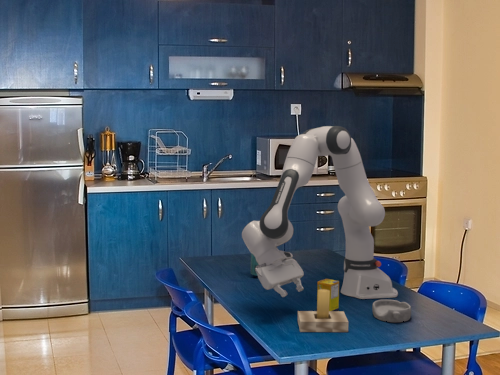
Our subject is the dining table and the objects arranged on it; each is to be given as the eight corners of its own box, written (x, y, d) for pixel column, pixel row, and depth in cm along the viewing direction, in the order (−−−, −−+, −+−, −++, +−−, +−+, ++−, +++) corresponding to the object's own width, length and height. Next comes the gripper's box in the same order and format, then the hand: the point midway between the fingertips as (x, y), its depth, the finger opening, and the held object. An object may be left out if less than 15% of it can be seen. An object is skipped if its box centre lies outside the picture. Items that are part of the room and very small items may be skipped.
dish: (401, 326, 246) (402, 312, 245) (365, 319, 254) (365, 305, 253) (418, 316, 258) (418, 302, 257) (382, 309, 266) (383, 296, 265)
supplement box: (325, 306, 268) (325, 278, 266) (339, 310, 264) (339, 281, 263) (316, 310, 263) (316, 281, 262) (330, 313, 259) (330, 284, 258)
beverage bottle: (252, 279, 308) (252, 233, 306) (248, 275, 314) (248, 230, 312) (267, 278, 310) (267, 232, 307) (262, 274, 316) (263, 230, 314)
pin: (327, 323, 247) (329, 289, 245) (328, 327, 243) (330, 292, 241) (316, 323, 247) (317, 289, 245) (317, 326, 243) (318, 292, 241)
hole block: (343, 321, 251) (343, 311, 250) (348, 332, 239) (348, 321, 238) (297, 320, 251) (297, 311, 250) (300, 331, 239) (300, 321, 238)
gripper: (258, 261, 247) (280, 294, 242) (293, 251, 262) (315, 282, 257) (248, 271, 250) (270, 304, 245) (283, 262, 266) (304, 292, 261)
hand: (293, 293), depth 251 cm, fingers open, 8 cm apart
